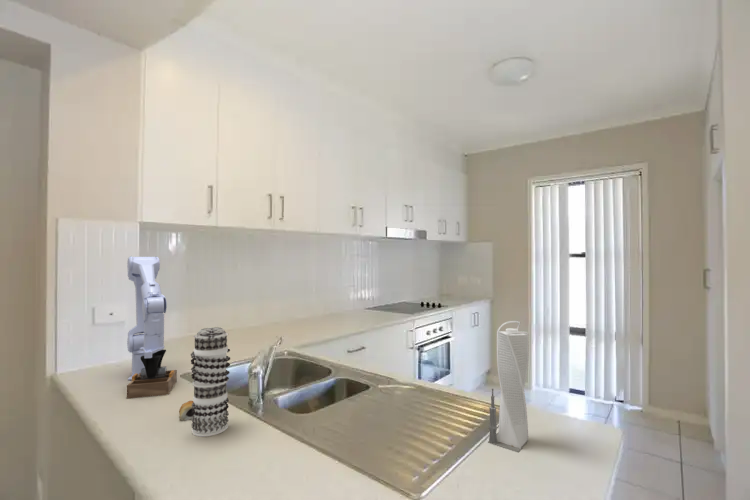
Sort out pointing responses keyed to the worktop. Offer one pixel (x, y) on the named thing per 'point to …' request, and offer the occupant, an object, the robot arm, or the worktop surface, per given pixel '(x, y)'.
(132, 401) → the worktop surface
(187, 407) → the pastry
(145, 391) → the rack
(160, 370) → the panel
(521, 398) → the skyscraper
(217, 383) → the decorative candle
